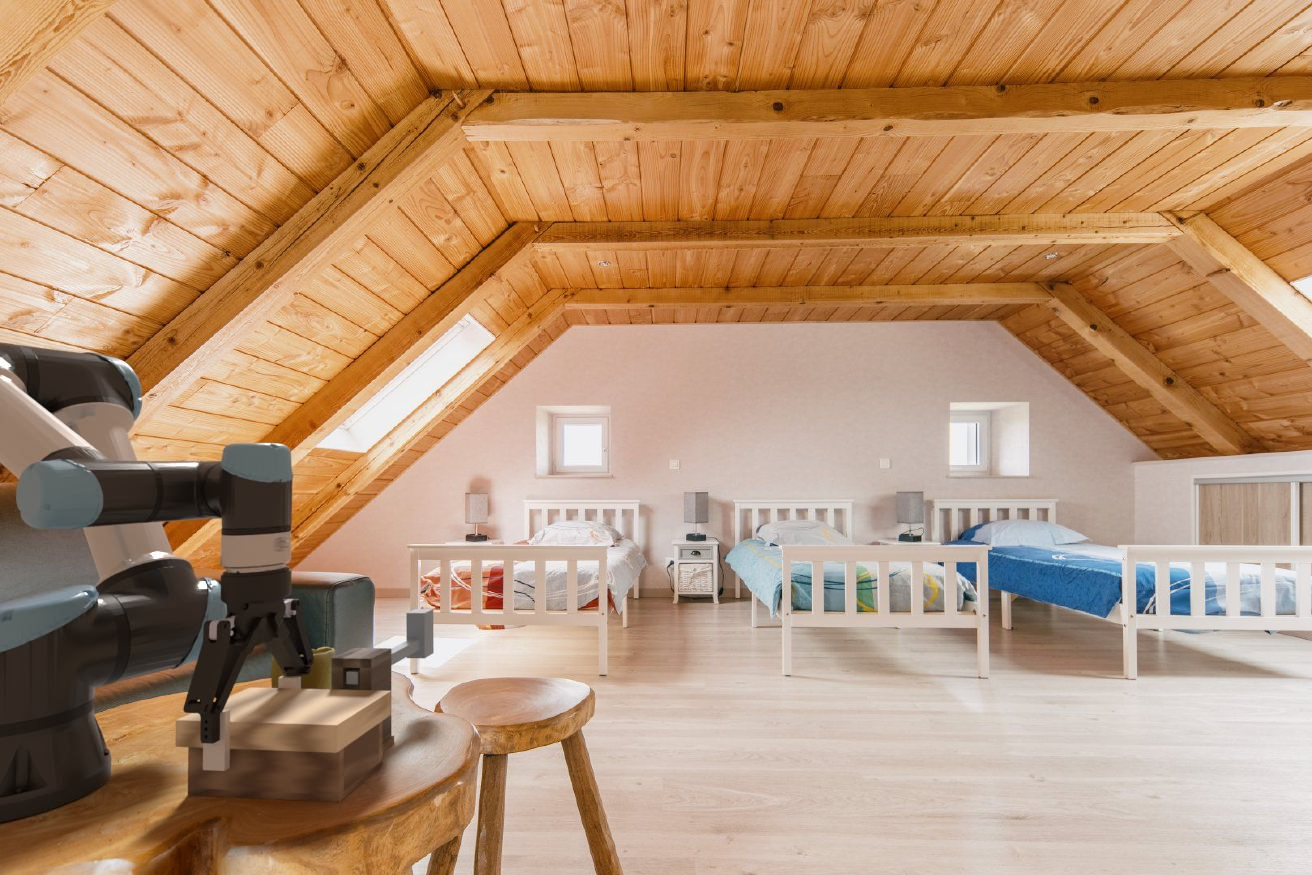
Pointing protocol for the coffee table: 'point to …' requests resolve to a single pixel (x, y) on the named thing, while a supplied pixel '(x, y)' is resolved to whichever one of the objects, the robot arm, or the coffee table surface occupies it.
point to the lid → (294, 719)
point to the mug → (318, 673)
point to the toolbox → (306, 770)
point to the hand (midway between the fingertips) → (255, 746)
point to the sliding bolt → (408, 641)
